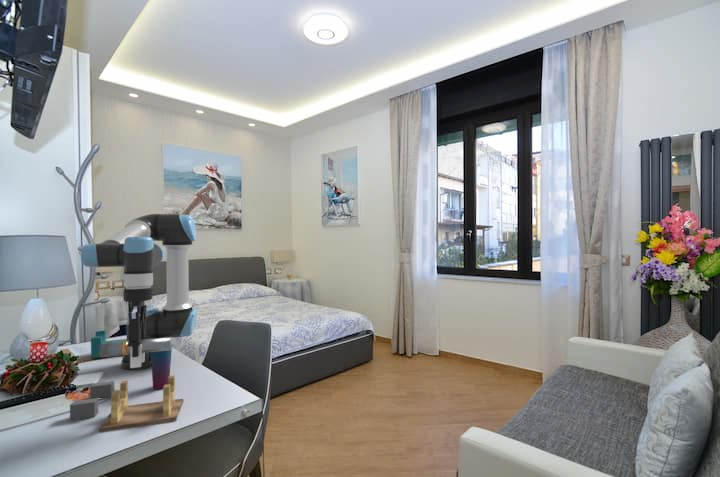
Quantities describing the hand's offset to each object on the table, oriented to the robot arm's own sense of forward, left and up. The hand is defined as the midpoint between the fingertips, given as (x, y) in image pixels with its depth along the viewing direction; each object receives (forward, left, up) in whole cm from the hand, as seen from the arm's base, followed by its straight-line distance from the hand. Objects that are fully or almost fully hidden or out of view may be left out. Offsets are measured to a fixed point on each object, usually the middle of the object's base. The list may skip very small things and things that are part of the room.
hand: (137, 364), depth 105 cm
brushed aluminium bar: (0, 0, +3) cm, 3 cm away
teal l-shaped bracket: (-71, -26, -16) cm, 77 cm away
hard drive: (-36, -25, -16) cm, 47 cm away
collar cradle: (+1, +2, -15) cm, 15 cm away
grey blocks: (-11, -15, -15) cm, 24 cm away
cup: (-21, +2, -15) cm, 26 cm away
